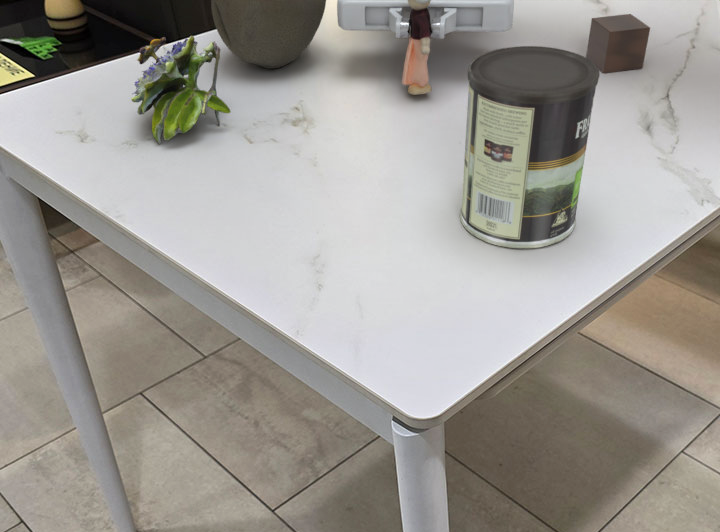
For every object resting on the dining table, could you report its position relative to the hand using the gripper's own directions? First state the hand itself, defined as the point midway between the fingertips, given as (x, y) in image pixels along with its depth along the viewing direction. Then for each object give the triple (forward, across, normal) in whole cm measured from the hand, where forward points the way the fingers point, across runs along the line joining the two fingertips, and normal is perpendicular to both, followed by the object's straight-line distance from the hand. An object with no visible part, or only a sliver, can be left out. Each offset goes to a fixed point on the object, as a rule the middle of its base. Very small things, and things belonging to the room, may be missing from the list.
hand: (420, 31), depth 93 cm
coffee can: (+25, +11, +8) cm, 28 cm away
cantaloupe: (-10, -19, +8) cm, 23 cm away
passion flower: (+8, -25, +8) cm, 28 cm away
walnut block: (-12, +23, +8) cm, 27 cm away
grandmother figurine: (-1, 0, +7) cm, 7 cm away
